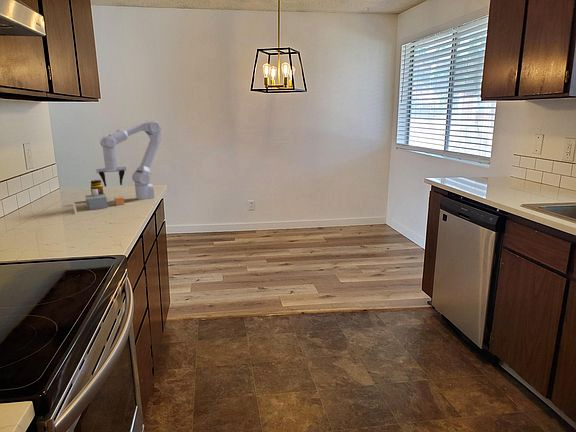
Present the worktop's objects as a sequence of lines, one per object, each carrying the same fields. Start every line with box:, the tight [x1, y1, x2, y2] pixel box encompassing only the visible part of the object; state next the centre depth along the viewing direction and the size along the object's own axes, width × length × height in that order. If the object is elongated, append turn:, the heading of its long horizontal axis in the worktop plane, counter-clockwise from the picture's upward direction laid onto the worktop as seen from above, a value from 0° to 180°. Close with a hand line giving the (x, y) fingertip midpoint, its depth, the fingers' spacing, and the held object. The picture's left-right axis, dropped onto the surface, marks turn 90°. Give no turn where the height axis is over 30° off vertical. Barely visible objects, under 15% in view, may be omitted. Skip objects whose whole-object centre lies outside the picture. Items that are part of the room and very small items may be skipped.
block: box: [114, 195, 125, 206], centre depth 228 cm, size 4×4×4 cm
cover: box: [85, 189, 109, 211], centre depth 222 cm, size 9×10×9 cm
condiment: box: [90, 179, 105, 194], centre depth 239 cm, size 7×8×12 cm
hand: (113, 185), depth 229 cm, fingers open, 7 cm apart
